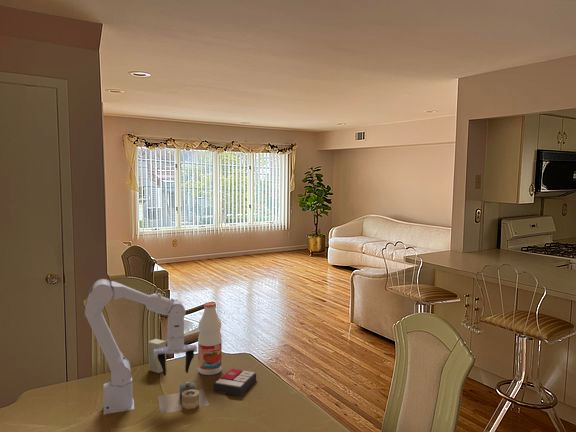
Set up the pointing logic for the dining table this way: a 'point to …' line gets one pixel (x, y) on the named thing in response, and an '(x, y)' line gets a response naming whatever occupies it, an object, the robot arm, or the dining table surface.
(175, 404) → the gear board
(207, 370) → the fruit juice
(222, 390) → the red white black box
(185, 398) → the maple gear
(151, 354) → the skincare box
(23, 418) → the dining table surface
